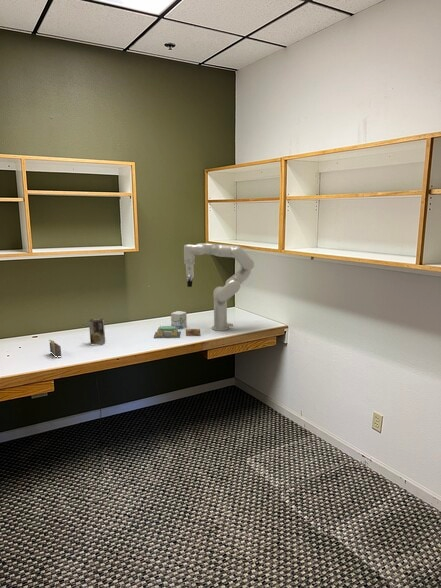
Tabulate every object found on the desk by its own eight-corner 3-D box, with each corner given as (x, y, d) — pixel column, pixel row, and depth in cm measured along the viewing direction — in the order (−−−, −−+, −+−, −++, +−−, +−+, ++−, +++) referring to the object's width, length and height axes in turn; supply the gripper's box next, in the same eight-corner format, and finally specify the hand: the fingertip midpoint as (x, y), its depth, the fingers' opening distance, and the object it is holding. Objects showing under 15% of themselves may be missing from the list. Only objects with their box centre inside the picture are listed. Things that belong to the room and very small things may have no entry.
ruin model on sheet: (49, 354, 263) (48, 339, 261) (54, 353, 265) (53, 338, 263) (56, 359, 254) (55, 344, 252) (61, 358, 256) (60, 342, 254)
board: (176, 328, 302) (176, 325, 302) (175, 331, 295) (175, 328, 295) (159, 328, 302) (159, 326, 301) (158, 331, 295) (158, 328, 294)
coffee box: (105, 341, 287) (104, 318, 283) (104, 344, 280) (103, 320, 277) (91, 342, 285) (89, 319, 282) (90, 345, 279) (88, 321, 275)
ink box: (179, 329, 313) (179, 314, 311) (171, 327, 318) (170, 312, 316) (187, 327, 320) (186, 312, 317) (178, 325, 325) (178, 310, 322)
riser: (200, 334, 302) (200, 328, 301) (200, 335, 298) (200, 330, 297) (186, 334, 302) (186, 328, 301) (185, 336, 298) (185, 330, 297)
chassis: (180, 332, 305) (180, 324, 304) (179, 337, 294) (179, 328, 292) (155, 333, 305) (155, 324, 303) (153, 338, 293) (153, 329, 292)
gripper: (194, 263, 294) (194, 287, 297) (194, 260, 311) (195, 283, 314) (183, 263, 294) (184, 287, 297) (184, 260, 311) (185, 283, 314)
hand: (189, 285), depth 306 cm, fingers open, 9 cm apart
